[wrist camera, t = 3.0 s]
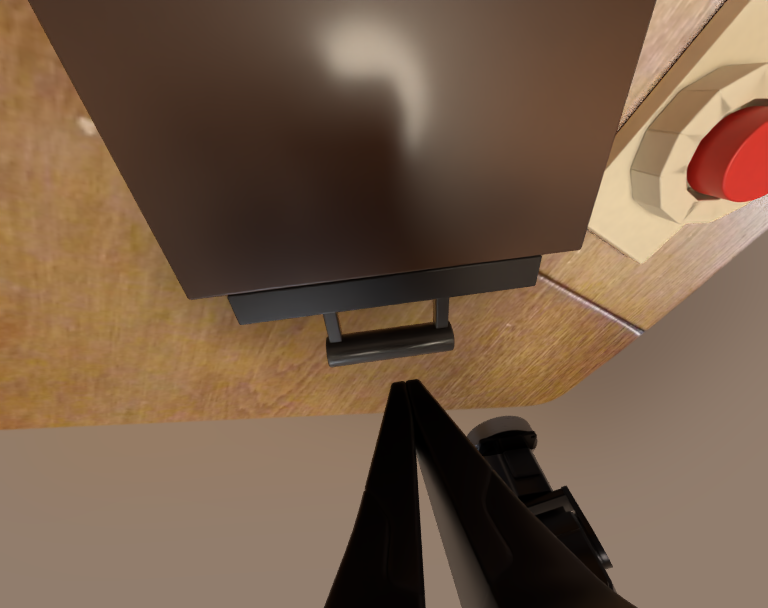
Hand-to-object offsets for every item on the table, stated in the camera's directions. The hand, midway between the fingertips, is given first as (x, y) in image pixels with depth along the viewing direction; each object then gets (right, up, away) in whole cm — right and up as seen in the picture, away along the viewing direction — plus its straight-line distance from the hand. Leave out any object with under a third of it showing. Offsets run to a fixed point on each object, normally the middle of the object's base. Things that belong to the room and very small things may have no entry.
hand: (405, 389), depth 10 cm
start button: (+15, +10, +5) cm, 18 cm away
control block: (+15, +11, +7) cm, 20 cm away
